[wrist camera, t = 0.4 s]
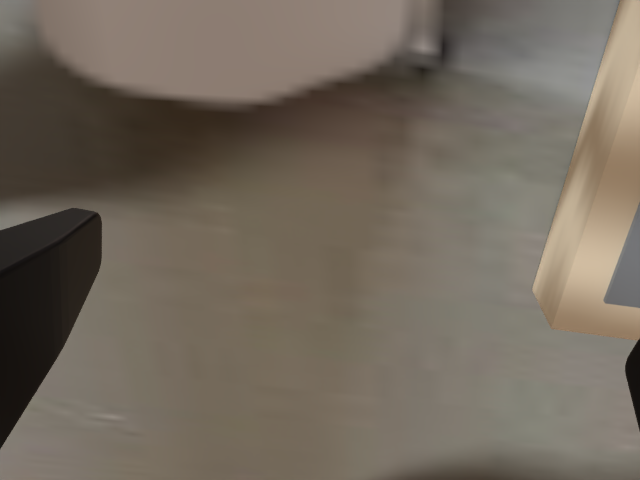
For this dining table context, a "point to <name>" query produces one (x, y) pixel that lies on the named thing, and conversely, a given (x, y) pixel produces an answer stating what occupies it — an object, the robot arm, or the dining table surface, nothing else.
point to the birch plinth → (601, 203)
